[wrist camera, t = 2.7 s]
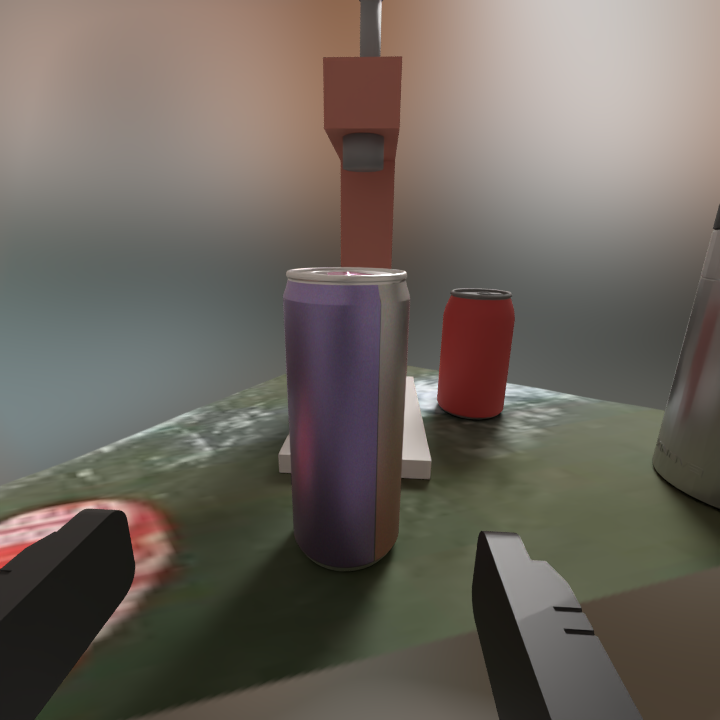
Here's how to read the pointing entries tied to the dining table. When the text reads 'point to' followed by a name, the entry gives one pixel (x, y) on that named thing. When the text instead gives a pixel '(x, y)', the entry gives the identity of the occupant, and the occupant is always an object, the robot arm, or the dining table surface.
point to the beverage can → (346, 410)
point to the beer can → (475, 352)
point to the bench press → (369, 184)
